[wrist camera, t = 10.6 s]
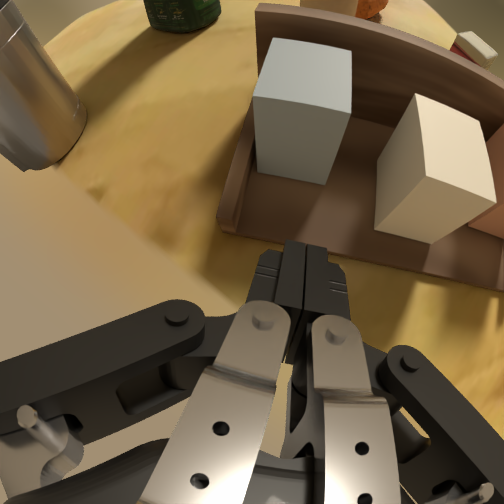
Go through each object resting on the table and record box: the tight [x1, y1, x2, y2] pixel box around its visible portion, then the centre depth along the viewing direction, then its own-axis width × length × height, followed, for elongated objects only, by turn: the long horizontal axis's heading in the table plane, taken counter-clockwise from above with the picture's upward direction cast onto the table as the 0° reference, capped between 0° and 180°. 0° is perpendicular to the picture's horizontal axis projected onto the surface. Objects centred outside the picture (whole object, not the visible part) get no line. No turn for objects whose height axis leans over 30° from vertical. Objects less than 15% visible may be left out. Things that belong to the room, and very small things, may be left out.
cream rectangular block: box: [374, 93, 497, 244], centre depth 16 cm, size 6×5×8 cm
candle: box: [300, 0, 358, 17], centre depth 21 cm, size 6×6×10 cm
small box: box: [449, 31, 498, 70], centre depth 21 cm, size 5×4×8 cm
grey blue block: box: [253, 38, 352, 185], centre depth 18 cm, size 6×5×8 cm
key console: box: [216, 3, 504, 292], centre depth 16 cm, size 14×26×10 cm, turn 77°
